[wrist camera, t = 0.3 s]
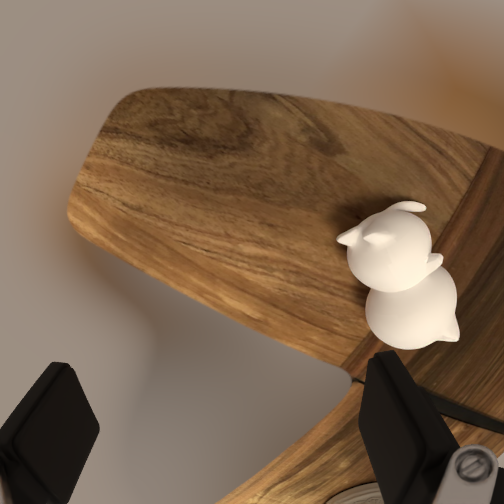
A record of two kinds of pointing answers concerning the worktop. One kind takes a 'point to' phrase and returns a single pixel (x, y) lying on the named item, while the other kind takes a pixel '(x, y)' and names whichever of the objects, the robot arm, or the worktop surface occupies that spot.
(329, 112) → the worktop surface
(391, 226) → the cat figurine
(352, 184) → the worktop surface
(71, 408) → the robot arm
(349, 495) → the jar
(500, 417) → the worktop surface
